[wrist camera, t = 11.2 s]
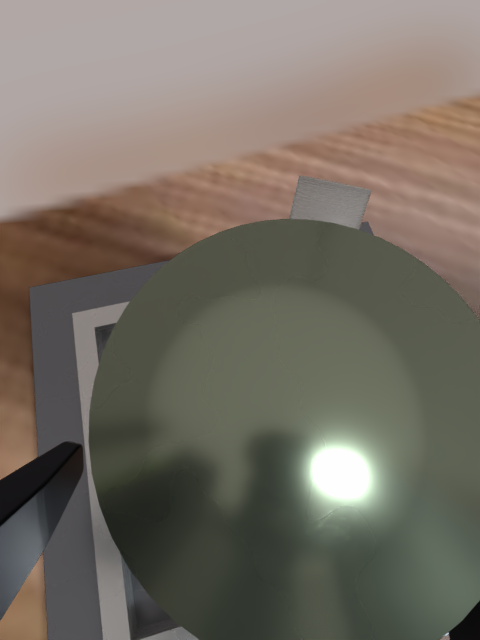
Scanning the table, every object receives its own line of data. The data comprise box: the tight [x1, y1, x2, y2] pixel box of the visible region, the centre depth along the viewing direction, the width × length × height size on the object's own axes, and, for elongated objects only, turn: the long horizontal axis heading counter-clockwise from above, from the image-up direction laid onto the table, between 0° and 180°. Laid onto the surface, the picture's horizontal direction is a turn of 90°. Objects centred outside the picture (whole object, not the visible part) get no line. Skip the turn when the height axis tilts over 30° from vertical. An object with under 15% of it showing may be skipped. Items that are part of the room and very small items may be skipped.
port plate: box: [29, 222, 449, 640], centre depth 17 cm, size 20×20×2 cm
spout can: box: [88, 176, 480, 640], centre depth 11 cm, size 8×6×13 cm
